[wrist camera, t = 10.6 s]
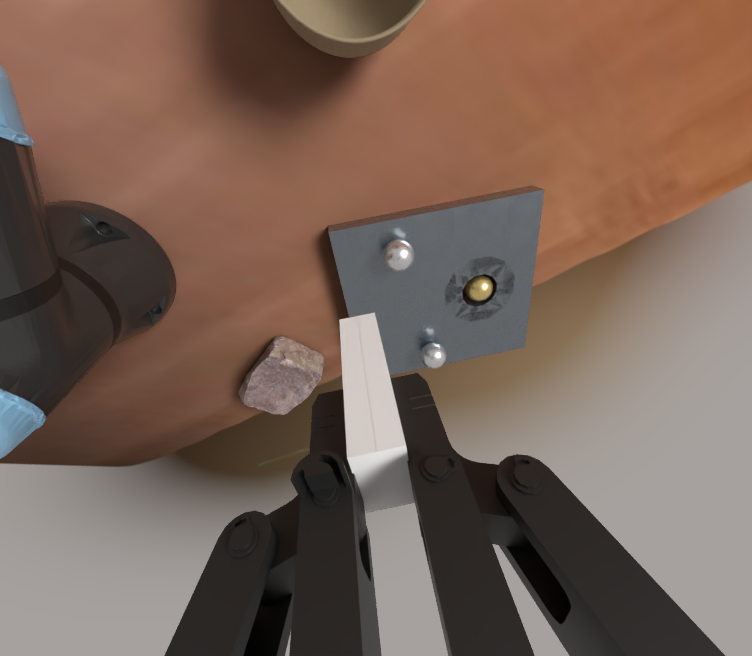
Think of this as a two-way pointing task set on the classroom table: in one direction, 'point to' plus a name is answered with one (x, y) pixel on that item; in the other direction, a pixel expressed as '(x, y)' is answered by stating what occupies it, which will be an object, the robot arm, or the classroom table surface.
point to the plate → (444, 275)
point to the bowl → (348, 23)
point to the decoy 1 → (398, 255)
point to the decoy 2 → (433, 355)
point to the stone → (282, 377)
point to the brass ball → (479, 288)
